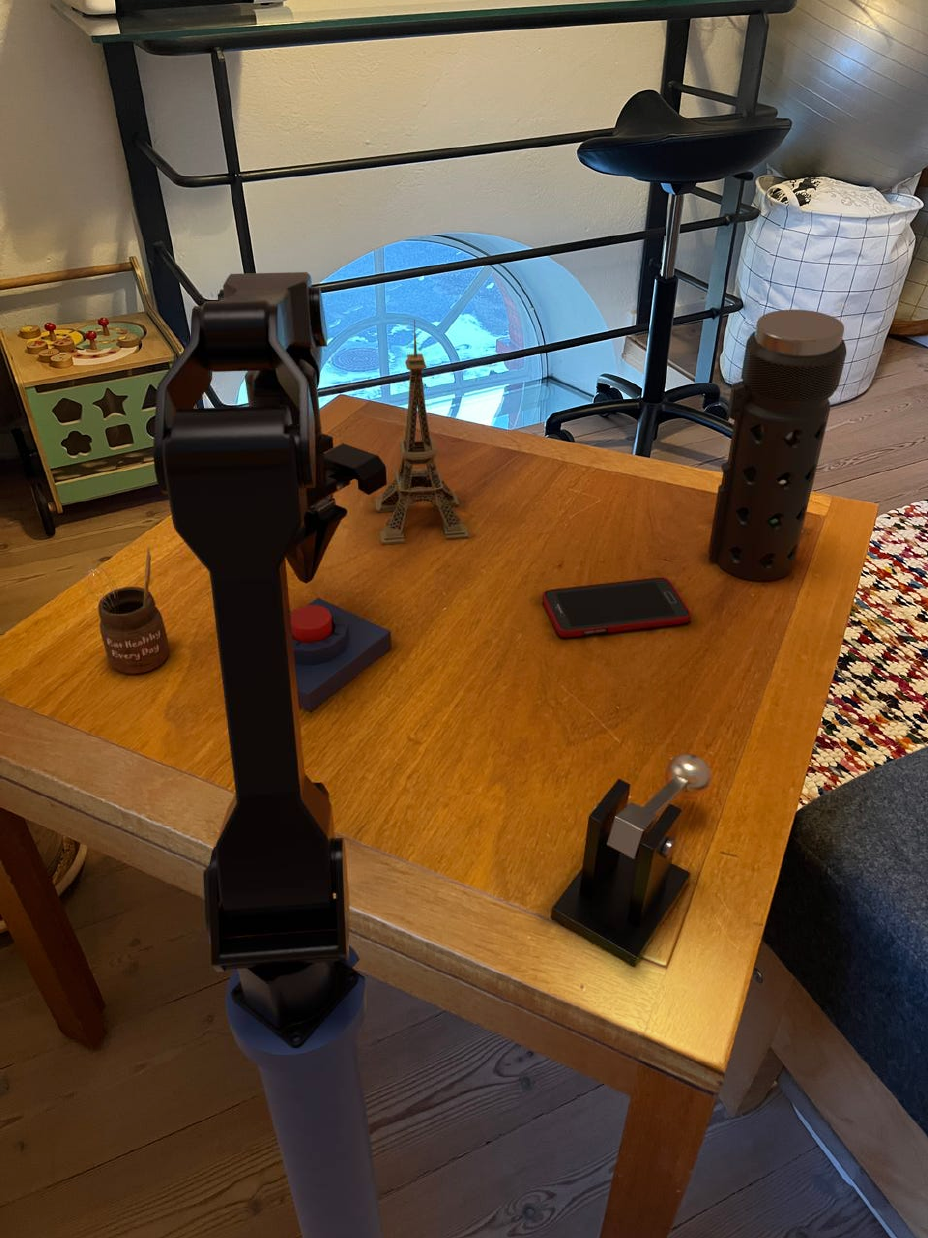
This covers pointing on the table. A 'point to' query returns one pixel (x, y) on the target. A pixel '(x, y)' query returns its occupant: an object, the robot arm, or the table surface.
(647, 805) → the lever
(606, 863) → the bracket
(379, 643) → the control box
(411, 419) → the eiffel tower
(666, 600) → the cell phone
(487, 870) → the table surface
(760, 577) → the water bottle
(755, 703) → the table surface
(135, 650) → the utensil holder
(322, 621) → the button
